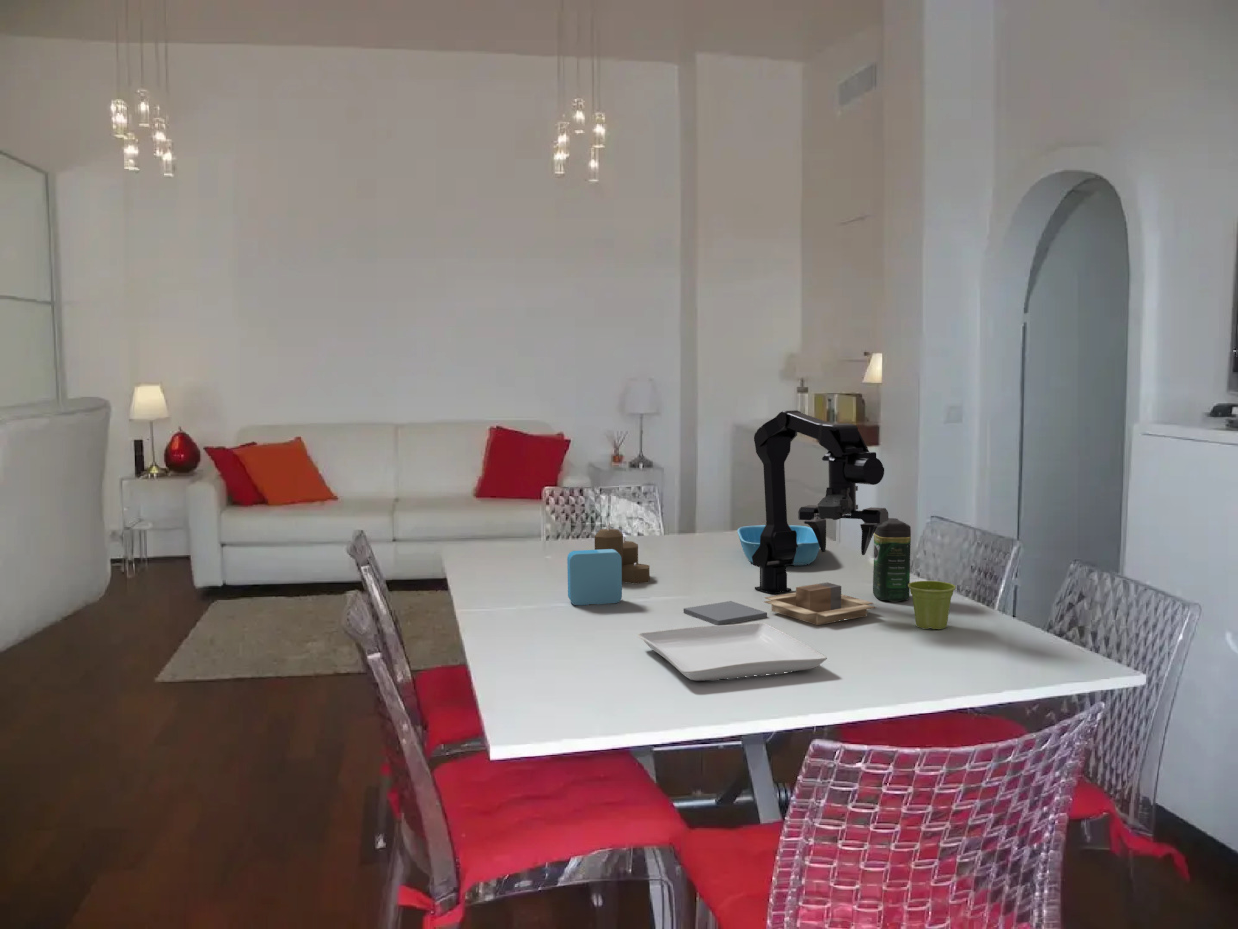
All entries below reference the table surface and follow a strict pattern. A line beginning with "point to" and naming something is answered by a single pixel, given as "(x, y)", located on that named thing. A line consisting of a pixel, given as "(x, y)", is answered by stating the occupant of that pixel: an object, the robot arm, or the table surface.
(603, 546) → the candle
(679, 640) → the square plate
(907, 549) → the coffee jar
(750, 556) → the casserole dish
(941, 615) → the plant pot
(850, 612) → the wooden square frame
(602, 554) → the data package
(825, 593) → the block
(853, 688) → the table surface
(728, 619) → the mat
